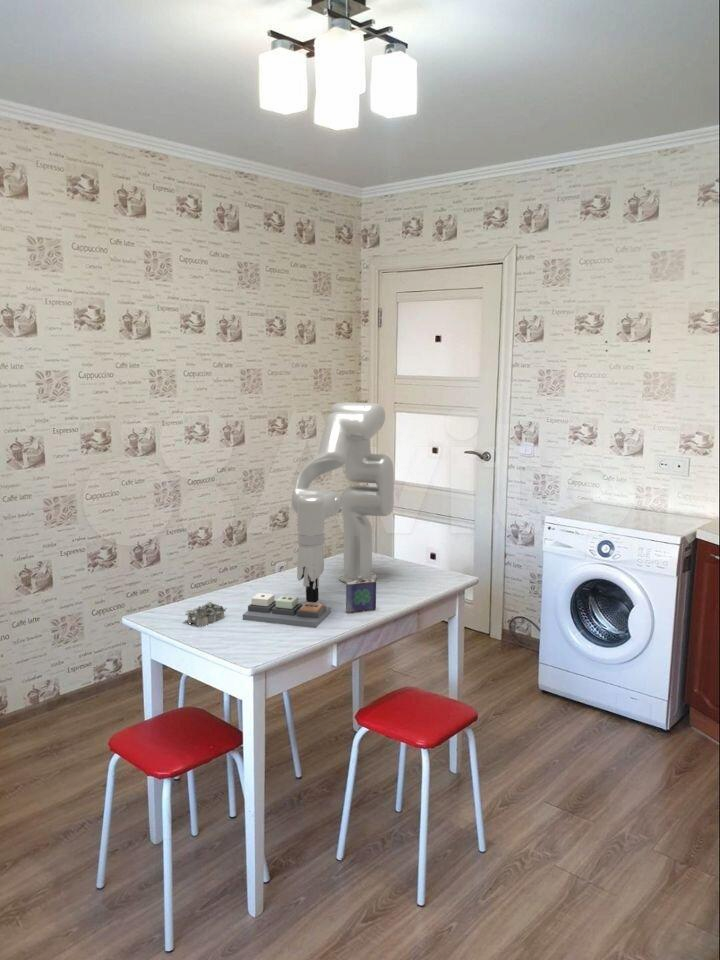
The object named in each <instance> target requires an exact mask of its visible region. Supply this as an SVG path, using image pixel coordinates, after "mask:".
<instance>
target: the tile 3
mask: <svg viewBox="0 0 720 960" xmlns="http://www.w3.org/2000/svg"><path fill="white" fill-rule="evenodd" d="M302 605H303V606H302V607H301V608H300V611H306V612H316V613H318V612H319V611H320V610H321V609H322V608H323V606H324V604H323V603H318V602H316V603H315V602H307V601H306V602H305V603H303V604H302Z"/></svg>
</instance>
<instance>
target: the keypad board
mask: <svg viewBox="0 0 720 960" xmlns="http://www.w3.org/2000/svg"><path fill="white" fill-rule="evenodd" d="M303 605H304V604H303V603H300V602H298V604H297V605H296V606H295V607H294V608H293V609H288V608H278V607H276V600H275V601H274V602H273V603H271V604H270V605H269V606H259V605H252V602H251V603H250V604H249V605H247V610H246V611H245V612H244V613H243V614H242V620H243V621H252V622H261V623H270V624H279V625H287V626H288V625H289V626H298V627H307V628H315V629H316V628H317V627H318V626H319V625H320V624H321V623H322V622H323V621H324V620H325V619H326V618H327V617H328V616H329V615H330V614H331V612H332V608H331V607H329V606H327V605H323V608H322V609H321V610H320V611H319V612H318V613H316V612H306V611H300V608H301V607H302V606H303Z"/></svg>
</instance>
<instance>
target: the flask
mask: <svg viewBox="0 0 720 960" xmlns="http://www.w3.org/2000/svg"><path fill="white" fill-rule="evenodd" d="M376 609H377V581H376V580H371V579H369V580H368V579H363V578H362V575H359V579H358V581H354V582H348V583H345V612H346V614H355V613H364V612H374V611H376Z"/></svg>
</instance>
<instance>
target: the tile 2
mask: <svg viewBox="0 0 720 960" xmlns="http://www.w3.org/2000/svg"><path fill="white" fill-rule="evenodd" d="M275 601H276V607H278V608H288V609H293V608H294V607H295V606H296V605H297V604H298V603H299V596H293V595H280V597H278V598H277V599H276V600H275Z"/></svg>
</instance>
